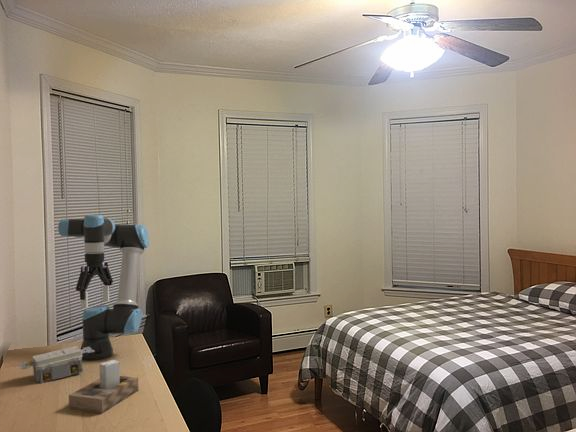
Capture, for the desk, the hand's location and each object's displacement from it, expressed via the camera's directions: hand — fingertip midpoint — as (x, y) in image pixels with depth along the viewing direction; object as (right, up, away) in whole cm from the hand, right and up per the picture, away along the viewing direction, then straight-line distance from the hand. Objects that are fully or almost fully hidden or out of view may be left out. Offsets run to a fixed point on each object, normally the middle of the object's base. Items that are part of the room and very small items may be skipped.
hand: (95, 304), depth 208 cm
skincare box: (+12, -31, -16) cm, 37 cm away
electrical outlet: (-19, -32, +7) cm, 37 cm away
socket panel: (+11, -32, -19) cm, 39 cm away
